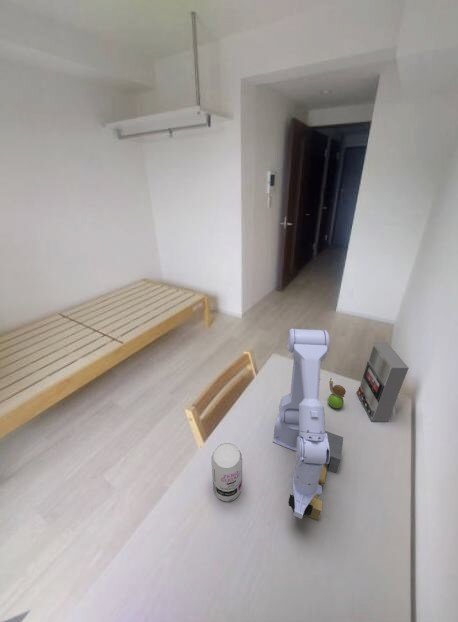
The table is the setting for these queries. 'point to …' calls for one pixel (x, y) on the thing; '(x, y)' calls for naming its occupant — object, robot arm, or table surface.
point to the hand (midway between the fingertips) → (300, 502)
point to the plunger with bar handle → (315, 501)
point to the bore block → (334, 451)
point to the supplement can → (227, 471)
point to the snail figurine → (336, 395)
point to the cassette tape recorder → (381, 382)
